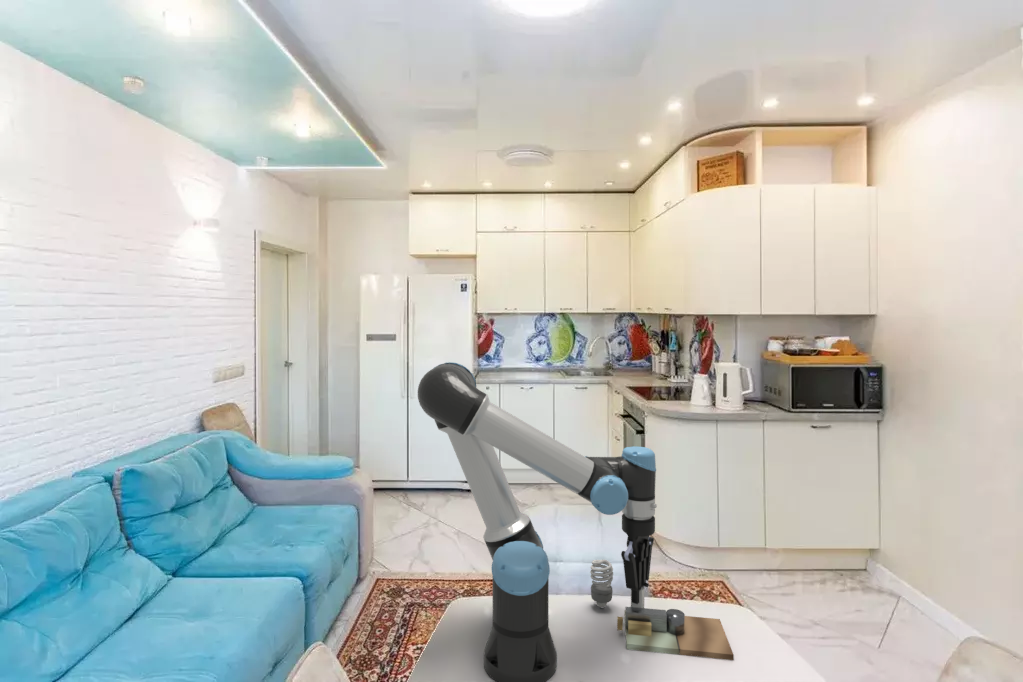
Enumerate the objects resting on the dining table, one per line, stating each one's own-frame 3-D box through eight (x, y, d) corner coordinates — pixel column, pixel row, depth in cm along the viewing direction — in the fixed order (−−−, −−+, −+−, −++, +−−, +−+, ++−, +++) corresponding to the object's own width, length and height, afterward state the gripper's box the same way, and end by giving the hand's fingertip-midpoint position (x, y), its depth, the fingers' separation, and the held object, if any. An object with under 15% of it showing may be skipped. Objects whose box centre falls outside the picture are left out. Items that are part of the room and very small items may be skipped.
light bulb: (612, 602, 137) (612, 556, 136) (613, 614, 131) (614, 565, 131) (589, 601, 137) (590, 554, 137) (590, 612, 132) (590, 564, 131)
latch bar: (682, 625, 124) (683, 609, 123) (685, 635, 120) (685, 619, 119) (625, 620, 126) (625, 604, 126) (626, 630, 122) (626, 613, 122)
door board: (617, 648, 117) (617, 631, 117) (616, 614, 131) (616, 599, 131) (733, 660, 113) (733, 642, 113) (719, 624, 127) (719, 608, 127)
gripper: (641, 526, 117) (640, 632, 118) (664, 510, 128) (663, 608, 128) (610, 518, 122) (609, 621, 123) (635, 503, 132) (634, 598, 133)
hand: (637, 614), depth 126 cm, fingers closed
